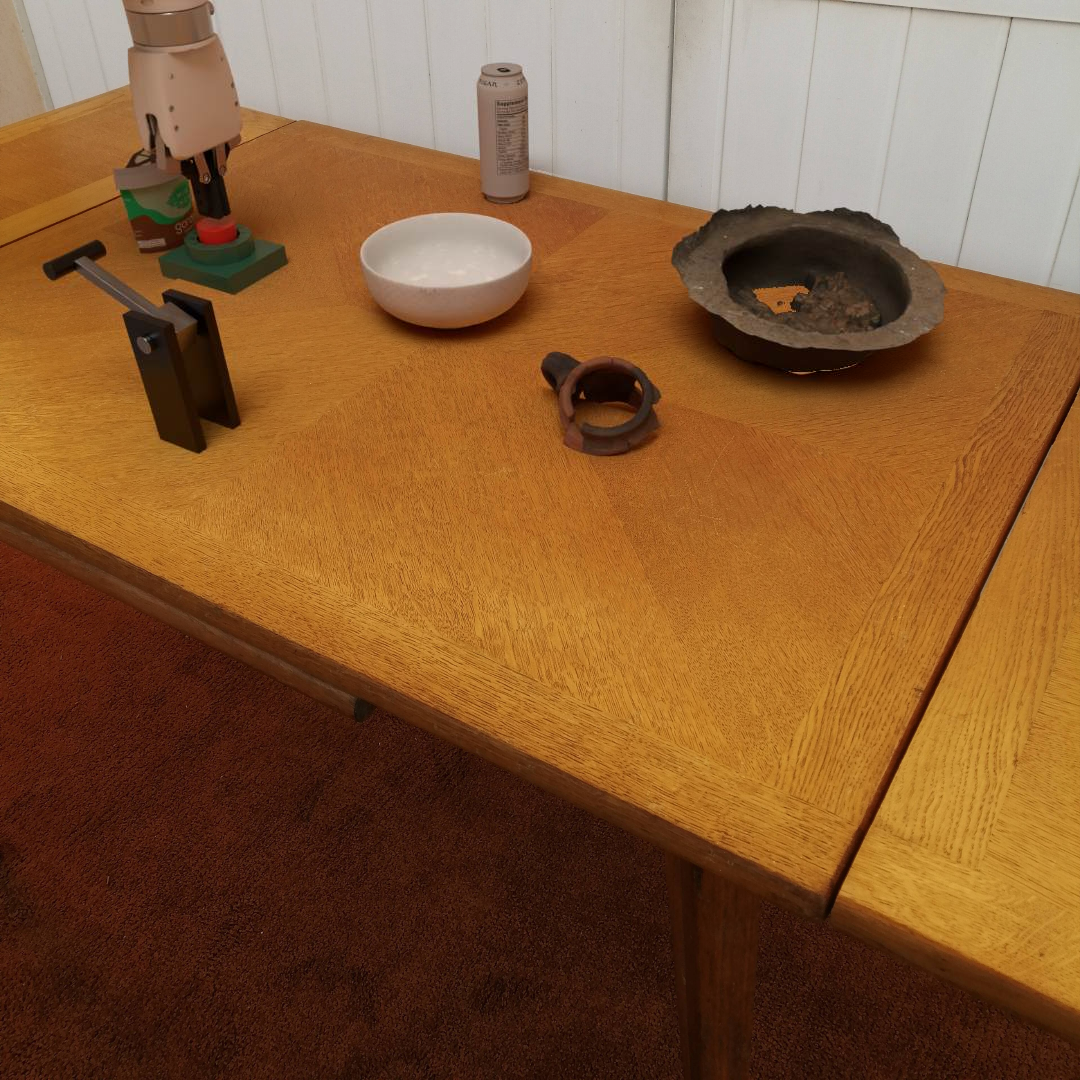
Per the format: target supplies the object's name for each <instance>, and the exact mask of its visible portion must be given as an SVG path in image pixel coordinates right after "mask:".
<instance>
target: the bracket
mask: <svg viewBox="0 0 1080 1080" xmlns="http://www.w3.org/2000/svg"><path fill="white" fill-rule="evenodd" d="M161 297H162V301H163V305H164V304H166V303H168V302H171V303H173V304H174V305H176V306H177V307H179V308H180V309H181V310H183V311H184V312H186V313H187V314H188V315H190V316H191V317H193V318H194V319H196V320H197V336H196V344H195V345H193V346H191V347H190V348H188V349H186V350H185V351H183V352H181V350H180V346H179V343H178V339H177V335H176V332H175V328H174V324H173V323H172V322H169V321H166V320H162V319H159V318H156V317H153V316H150V315H147V314H144V313H141V312H137V311H134V310H130V309H129V310H127V311H126V312H124V313H122V315H121V317H122V319H123V322H124V323H123V324H124V325H125V329H126V333H127V336H128V339H129V342H130V345H131V348H132V349H131V350H132V352H133V355H134V359H135V363H136V366H137V368H138V369H137V370H138V372H139V375H140V378H141V381H142V385H143V388H144V391H145V394H146V399H147V401H148V404H149V408H150V410H151V413H152V417H153V421H154V423H155V427H156V431H157V433H158V437H159V439H160V440H161V441H163V442H165V443H169V444H171V445H174V446H176V447H178V448H179V447H180V448H182V449H184V450H187V451H189V452H192V453H194V454H198V455H200V454H201V453H203V452H204V451H205V450H207V449H208V446H207V442H206V439H205V435H204V432H203V431H204V430H203V428H202V424H201V420H200V419H202V420H205V421H208V422H210V423H213V424H216V425H219V426H222V427H224V428H226V429H230V430H232V431H234V430H235V429H237V428H239V426H241V425H242V422H241V418H240V413H239V409H238V405H237V401H236V398H235V393H234V389H233V385H232V381H231V380H232V379H231V377H230V372H229V368H228V364H227V360H226V355H225V352H224V348H223V343H222V340H221V334H220V331H219V327H218V323H217V322H218V321H217V318H216V315H215V311H214V306H213V305H214V304H213V302H212V300H210V299H206V298H202V297H200V296H197V295H193V294H190V293H187V292H183V291H180V290H177V289H174V288H168V289H166V290H165V291H163V292H162V293H161Z"/></svg>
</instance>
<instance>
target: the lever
mask: <svg viewBox="0 0 1080 1080" xmlns="http://www.w3.org/2000/svg"><path fill="white" fill-rule="evenodd" d="M107 254H108V251H107V248H106V246H105V244H104V243H103V242H102V241H100V240H99V239H93V240H91V241H89V242H87V243H85V244H83V245H80V246H78V247H76V248H74V249H72V250H69V251H67V252H65V253H62V254H61V255H58V256H57V257H54V258H52V259H50V260H47V261H46V262H44V263H43V264H42V270H43V273H44V275H45V276H46V277H47V278H48V279H49V280H50V281H52V282H55V281H58V280H60V279H62V278H64V277H66V276H68V275H70V274H72V273H74V272H76V273H78V274H79V275H80V276H82V277H83V278H85V279H86V280H87V281H89V282H90V283H92V284H93V285H94V286H95V287H98V288H99V289H100V290H101V291H103V292H104V293H106V294H107V295H109V296H111V298H113V299H114V300H116V301H117V302H119V303H120V304H121V305H122V306H124V307H126V308H127V309H129V311H130V310H134V311H137V312H141V313H144V314H147V315H150V316H153V317H156V318H159V319H162V320H166V321H169V322H172V323H173V324H174V328H175V332H176V335H177V339H178V343H179V346H180V350H181V352H183V351H185V350H186V349H188V348H190V347H191V346H193V345H195V344H196V336H197V320H196V319H194V318H193V317H191V316H190V315H188V314H187V313H186V312H184V311H183V310H181V309H180V308H179V307H177V306H176V305H174V304H173V303H171V302H168V303H166V304H164V303H163V305H161V306H158V305H156V304H154V303H153V302H151V301H150V300H149V299H148V298H146V297H144V296H143V295H142V294H140V293H139V292H138V291H136V290H135V289H133V288H131V286H129V285H127V284H126V283H125V282H123V281H122V280H120V279H119V278H118V277H116V276H115V275H113V274H112V273H110V272H109V271H108V270H106V269H105V268H103V267H102V266H101V265H99V264H97V263H96V262H97V261H99V260H101V259H103V258H105V257H107Z"/></svg>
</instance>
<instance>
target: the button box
mask: <svg viewBox="0 0 1080 1080" xmlns="http://www.w3.org/2000/svg"><path fill="white" fill-rule="evenodd" d="M235 226H236V230H237V235H238V238H237V239H236V240H234V241H232V242H229V243H224V244H220V245H206V244H202V243H200V240H199V236H198V232H197V228H196V229H195V230H193V231H191V232H189V233H188V234H187V236H186V237H185V239H184V242H185V244H184V245H182V246H180V247H178V248H175V249H171V250H169V251H167V252H166V253H164V254H163V255H161V256H158V257H157V260H158V264H159V267H160V271H161V275H162V277H164V278H168V279H171V280H174V281H176V280H178V279H179V280H181V281H185V282H189V283H192V284H196V285H198V286H202V287H205V288H208V289H212V290H214V291H215V290H216V291H219V292H222V293H225V294H229V295H233V296H235V295H236V294H238V293H240V292H242V291H244V290H246V289H247V288H248V287H249V288H250V287H251V286H252V285H254V284H256V283H257V282H259V281H261V280H263V279H264V278H266V277H268V276H269V275H271V274H273V273H275V272H276V271H279V270H280V269H282V268H283V267H285V266H287V265H288V263H289V262H288V256H287V252H286V246H285V245H283V244H280V243H276V242H272V241H268V240H265V239H261V238H257V237H254V235H253V232H252V230H251V229H250V228H249V227H248V226H247V225H243V224H239V223H236V222H235Z"/></svg>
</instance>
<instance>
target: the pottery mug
mask: <svg viewBox="0 0 1080 1080" xmlns="http://www.w3.org/2000/svg"><path fill="white" fill-rule="evenodd" d="M540 372H541V374H542V376H543V378H544V379H545V381H546V382H547V383H548V385H549V386H550V388H551V389H552V390H553V391H554V392H555V394H556V396H557V398H558V402H557V403H558V411H559V412H558V413H559V419H560V422H561V424H562V427H563V429H564V431H565V435H564V438H563V441H562V444H563V445H565V446H566V447H568V448H569V449H571V450H573V451H575V452H578V453H582V454H585V455H590V456H595V457H604V456H611V455H616V454H620V453H624V452H627V451H629V450H630V445H631V446H637V445H638V444H640V443H641V442H643V440H644V439H645V437H646V436H647V435H649V434H650V433H651V432H652V431H655V430H658V429H660V428H661V425H660V421H659V417H658V415H657V413H656V411H655V409H654V406H653V405H657V404H658V403H659V402H660V400H661V399H662V398H663V397H662V394H661V391H660V390H659V388H658V387H657V386H656V385H655V384H654V383H653V382H652V381H651V380H650V379H649V377H648V376H647V374H646V372H644V370H642V369H641V368H640V367H639V366H638V365H637V366H636V364H635V363H632V362H631V361H629V360H626V359H624V358H622V357H617V356H613V357H612V356H609V355H605V356H597V357H592V358H589V359H587V360H585V361H583V362H581V361H580V360H577V359H575V358H574V357H573V356H571V355H569V354H567V353H563V352H561V351H557V350H556V351H551V352H548V353H547V354H546V356H545V357H544V358H542V361H541V365H540ZM636 382H637V383H638V384H639V386H640V388H639V387H638V386H637V385H636ZM582 393H583V398H584V399H585V400H586V401H590V402H593V403H596V404H599V405H601V404H605V403H623V404H627V405H628V406H630V407H632V408H634V409H635V410H637V412H636V413H635V415H634V416H633V417H632V418H630V419H629V420H627V421H625V422H624V423H622V424H620V425H615V426H607V427H605V426H604V427H603V426H602V427H601V426H597V425H593V424H590V423H588V422H586V421H583V422H582V424H581V425H582V426H579V425H578V424H577V422H576V420H575V419H576V411H575V409H574V406H573V404H574V403H576V402H578V401H579V399H580V397H581V395H582Z"/></svg>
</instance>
